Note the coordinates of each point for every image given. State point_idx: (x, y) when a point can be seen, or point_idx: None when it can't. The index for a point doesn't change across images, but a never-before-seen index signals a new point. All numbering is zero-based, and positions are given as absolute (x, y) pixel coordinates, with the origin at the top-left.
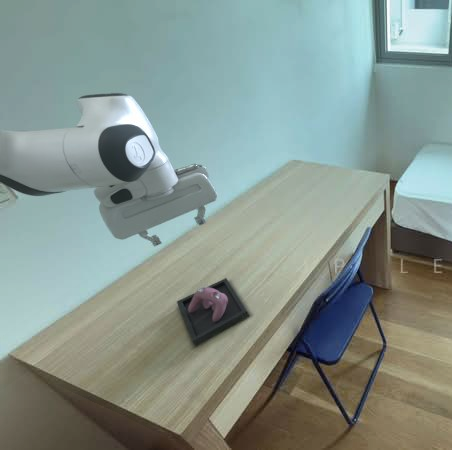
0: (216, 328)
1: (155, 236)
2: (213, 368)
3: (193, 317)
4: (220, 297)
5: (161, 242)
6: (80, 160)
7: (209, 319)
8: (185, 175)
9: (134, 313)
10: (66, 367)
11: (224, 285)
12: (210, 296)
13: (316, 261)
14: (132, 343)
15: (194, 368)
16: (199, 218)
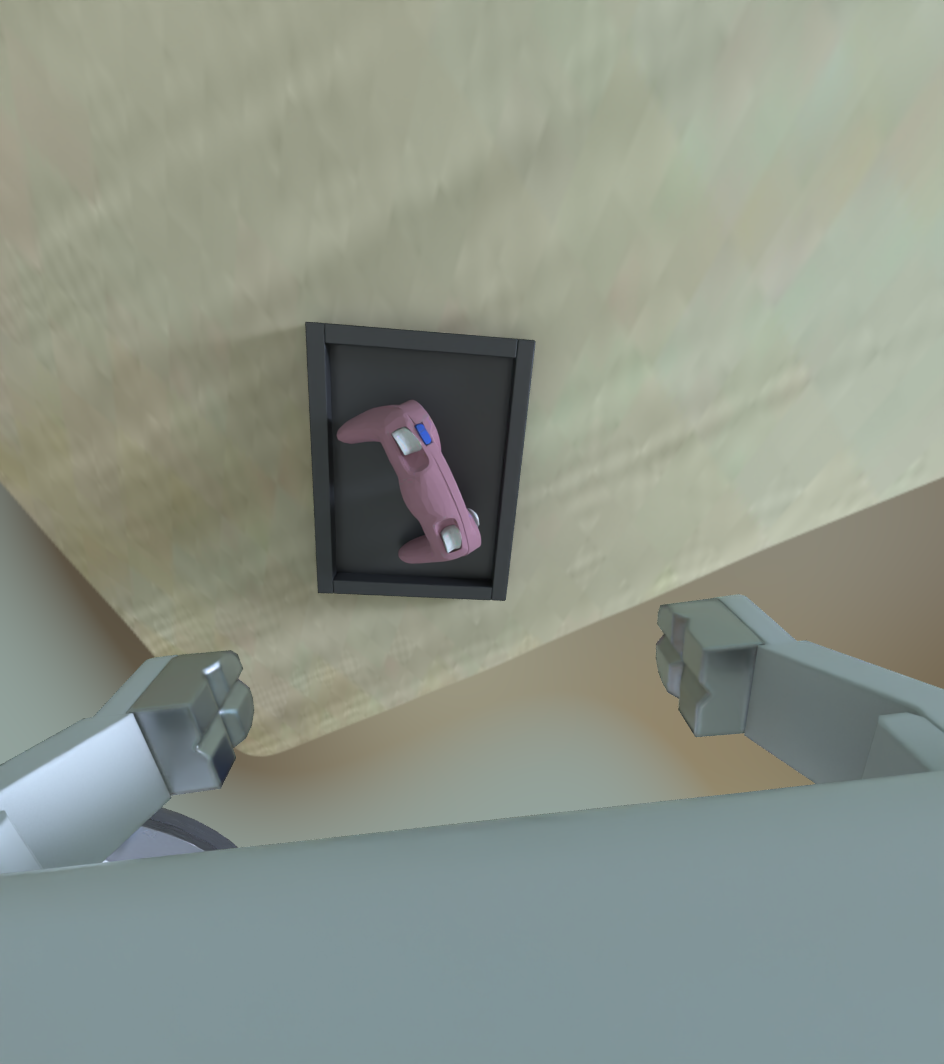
0: (397, 595)
1: (186, 749)
2: (347, 681)
3: (346, 458)
4: (459, 550)
5: (250, 725)
6: None
7: (391, 515)
8: None
9: (122, 180)
10: None
11: (508, 362)
12: (429, 525)
13: (839, 517)
14: (128, 394)
15: (304, 647)
16: (736, 722)
